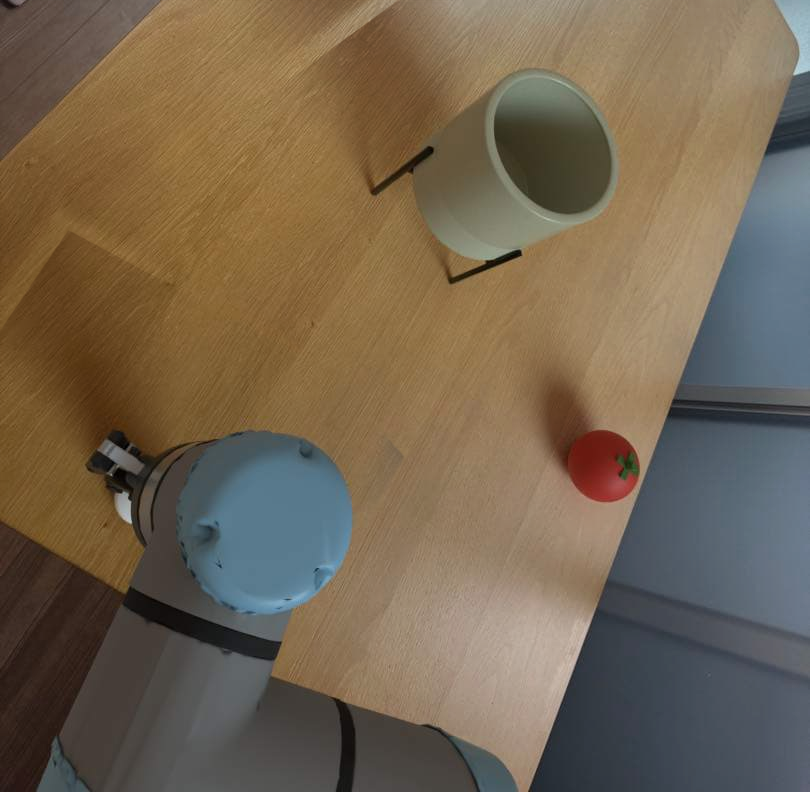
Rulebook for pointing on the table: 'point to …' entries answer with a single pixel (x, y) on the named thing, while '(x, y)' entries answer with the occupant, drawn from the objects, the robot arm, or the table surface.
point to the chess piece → (123, 506)
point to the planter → (514, 168)
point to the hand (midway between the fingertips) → (145, 494)
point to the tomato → (603, 466)
